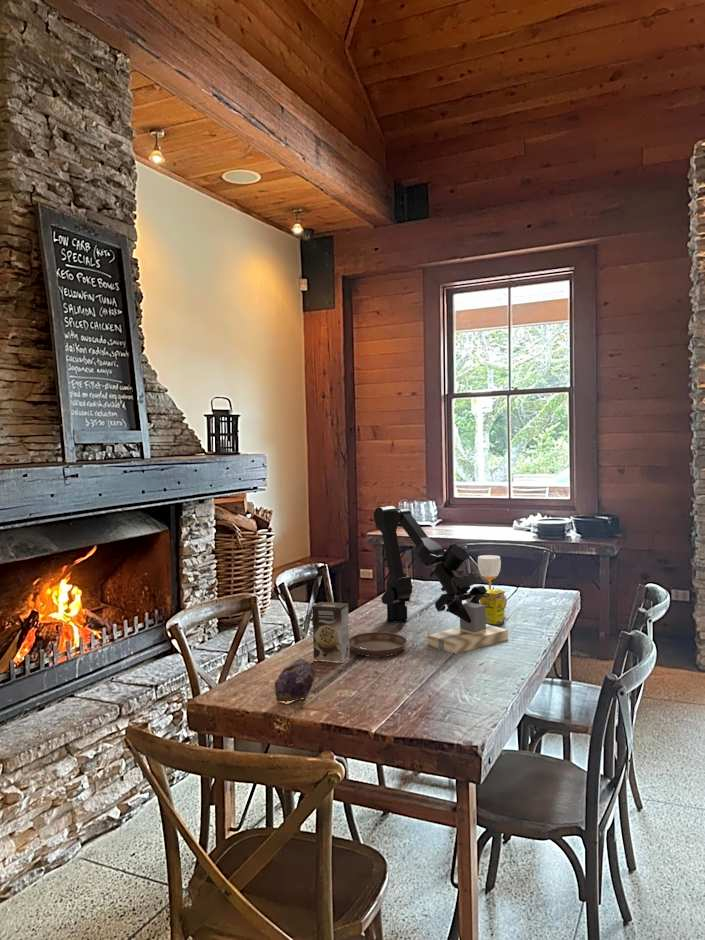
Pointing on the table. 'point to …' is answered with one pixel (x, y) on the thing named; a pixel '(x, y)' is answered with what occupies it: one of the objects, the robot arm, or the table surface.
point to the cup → (489, 567)
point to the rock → (294, 681)
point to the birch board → (466, 639)
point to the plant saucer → (377, 643)
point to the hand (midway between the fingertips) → (476, 620)
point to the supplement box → (494, 607)
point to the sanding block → (474, 618)
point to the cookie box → (330, 631)
